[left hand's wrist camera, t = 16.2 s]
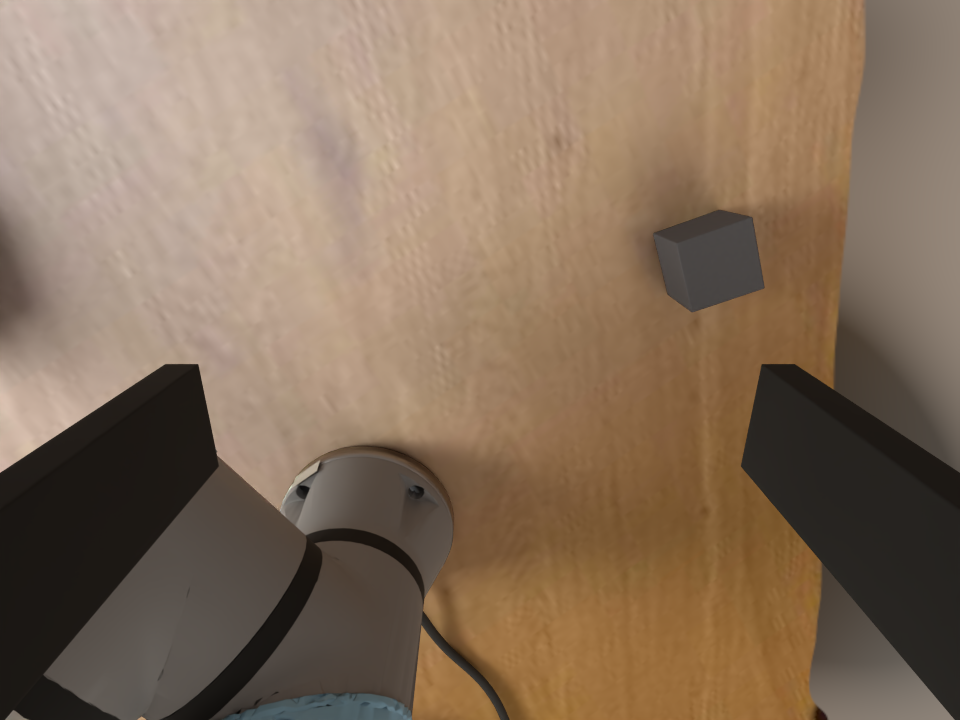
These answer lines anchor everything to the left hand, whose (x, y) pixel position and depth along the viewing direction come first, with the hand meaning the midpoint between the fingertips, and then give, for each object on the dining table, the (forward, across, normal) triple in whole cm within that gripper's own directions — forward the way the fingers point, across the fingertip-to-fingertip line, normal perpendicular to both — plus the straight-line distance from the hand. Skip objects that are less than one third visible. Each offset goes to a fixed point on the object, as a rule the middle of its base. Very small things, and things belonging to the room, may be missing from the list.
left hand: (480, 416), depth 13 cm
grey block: (+29, -16, +1) cm, 33 cm away
